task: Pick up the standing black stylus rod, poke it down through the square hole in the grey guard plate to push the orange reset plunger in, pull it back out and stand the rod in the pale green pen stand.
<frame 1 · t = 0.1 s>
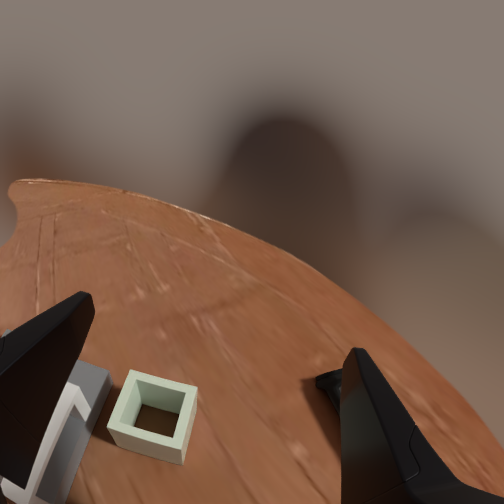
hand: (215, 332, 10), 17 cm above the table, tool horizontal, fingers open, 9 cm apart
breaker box: (26, 421, 18), on the table
electric trimmer: (359, 439, 23), on the table
pen stand: (157, 429, 21), on the table
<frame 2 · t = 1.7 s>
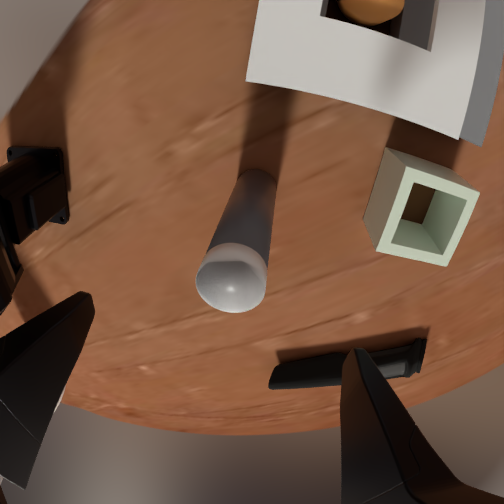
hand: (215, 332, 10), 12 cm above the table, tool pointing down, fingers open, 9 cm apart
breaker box: (392, 16, 13), on the table
electric trimmer: (352, 356, 29), on the table
pen stand: (408, 193, 19), on the table
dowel: (256, 188, 20), on the table
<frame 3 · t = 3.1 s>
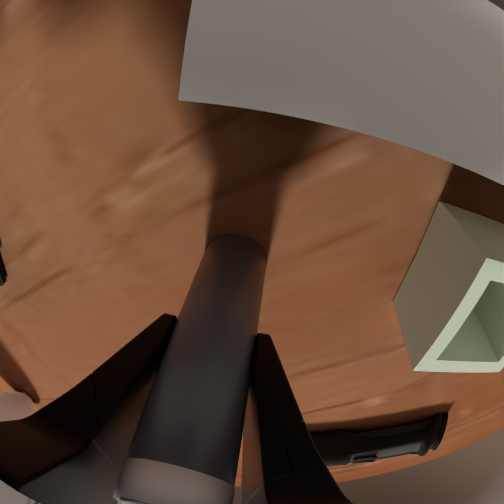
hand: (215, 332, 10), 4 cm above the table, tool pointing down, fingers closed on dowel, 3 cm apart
sauce bottle: (27, 395, 28), on the table
electric trimmer: (358, 430, 22), on the table
pen stand: (460, 266, 12), on the table
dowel: (234, 261, 13), on the table, touching gripper
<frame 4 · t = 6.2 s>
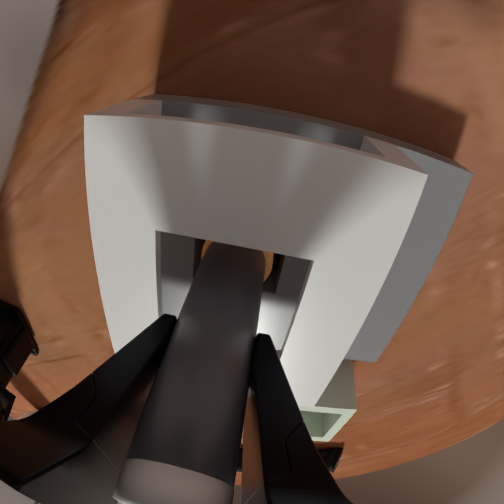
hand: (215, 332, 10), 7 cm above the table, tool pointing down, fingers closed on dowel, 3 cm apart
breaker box: (285, 236, 16), on the table
reset button: (240, 245, 14), point 2 cm above the table, slide at 0.8 cm, touching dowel
electric trimmer: (277, 450, 31), on the table
pen stand: (305, 376, 22), on the table
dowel: (234, 262, 13), point 3 cm above the table, touching gripper, reset button
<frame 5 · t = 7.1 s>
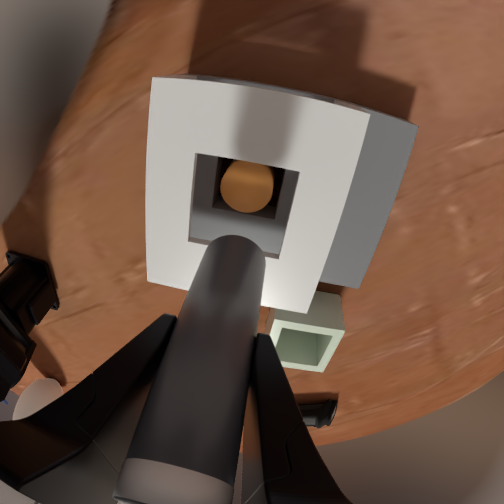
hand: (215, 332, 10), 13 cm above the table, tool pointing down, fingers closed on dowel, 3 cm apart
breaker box: (281, 179, 20), on the table
sauce bottle: (55, 381, 42), on the table
reset button: (248, 181, 19), point 2 cm above the table, slide at 0.8 cm
electric trimmer: (276, 405, 36), on the table
pen stand: (300, 312, 26), on the table
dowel: (234, 262, 13), point 9 cm above the table, touching gripper
when the fingers open (4 cm above the table, at t = 9.6 s): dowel stays where it is, resting in pen stand.
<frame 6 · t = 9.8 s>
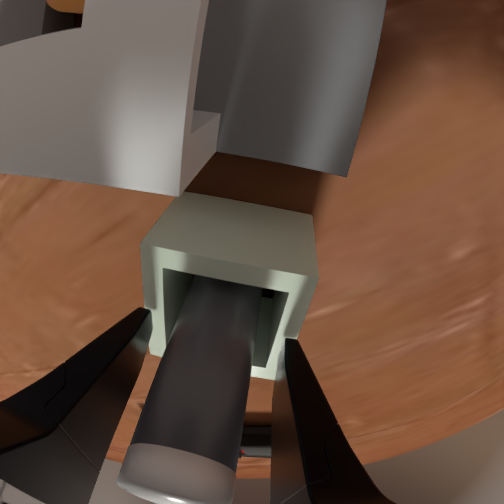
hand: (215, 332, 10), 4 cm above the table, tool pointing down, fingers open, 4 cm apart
electric trimmer: (231, 424, 23), on the table
pen stand: (237, 257, 14), on the table
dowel: (236, 256, 14), resting in pen stand
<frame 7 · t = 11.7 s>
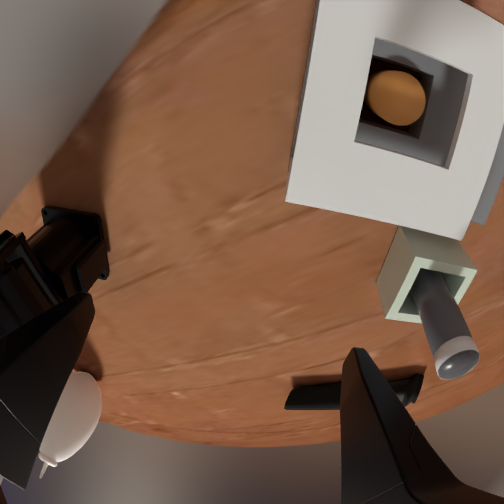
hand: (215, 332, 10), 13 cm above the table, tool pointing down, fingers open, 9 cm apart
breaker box: (415, 103, 16), on the table
sauce bottle: (89, 374, 39), on the table
reset button: (393, 95, 15), point 2 cm above the table, slide at 0.8 cm
electric trimmer: (358, 385, 32), on the table
pen stand: (416, 261, 22), on the table
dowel: (416, 260, 22), resting in pen stand
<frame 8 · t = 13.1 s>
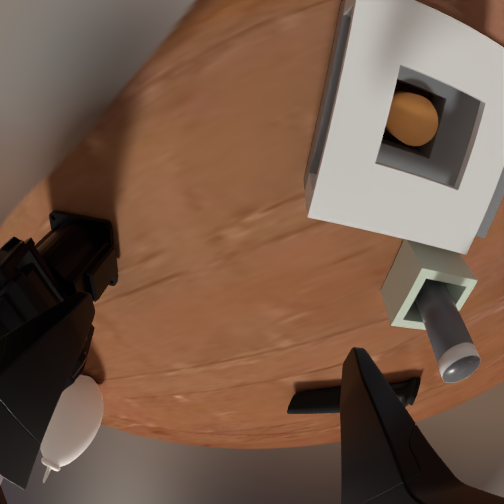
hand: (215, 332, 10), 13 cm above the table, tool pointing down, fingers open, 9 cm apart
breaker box: (425, 122, 17), on the table
sauce bottle: (90, 378, 39), on the table
reset button: (407, 116, 16), point 2 cm above the table, slide at 0.8 cm
electric trimmer: (357, 388, 33), on the table
pen stand: (419, 270, 23), on the table
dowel: (419, 270, 23), resting in pen stand
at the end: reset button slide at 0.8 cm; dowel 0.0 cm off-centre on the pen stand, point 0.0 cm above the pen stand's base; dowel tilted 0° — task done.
